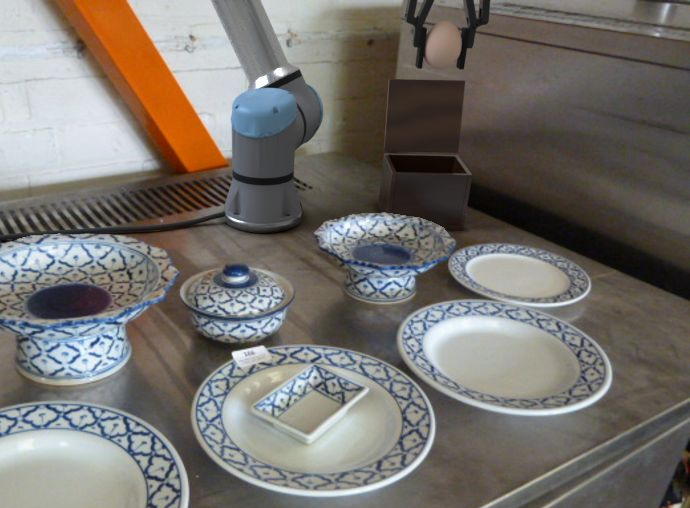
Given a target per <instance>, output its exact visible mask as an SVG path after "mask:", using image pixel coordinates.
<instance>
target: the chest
mask: <svg viewBox="0 0 690 508" xmlns="http://www.w3.org/2000/svg"><path fill="white" fill-rule="evenodd" d="M381 167H382V168H381V176H380V177H381V178H380V186H379V194H378V195H379V196H378V204H377V205H378V209H379V212H380V213H381V212H386V213H393V214H400V215H406V216H414V217H420V218H423V219H426V220H428V221H432V222H434V223H436V224H438V225H440V226H442V227H444V228H445V229H446V230H445V231H463V230H464V225H465V220H466V215H467V210H468V204H469V198H470V192H471V186H472V181H473V174H472V172H471V171H470V170H469V168H468V167H467V165H466V163H464V162H463V160H462V159H461V158H460V157H459V155H458V154H430V153H429V154H425V153H389V152H388V153H387V152H386V153H383V158H382V166H381Z"/></svg>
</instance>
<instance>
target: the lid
mask: <svg viewBox="0 0 690 508" xmlns="http://www.w3.org/2000/svg"><path fill="white" fill-rule="evenodd" d="M387 83H388V86H387V99H386V115H385V127H384V128H385V129H384V143H383V151H384V152H403V153H405V152H410V153H443V154H444V153H447V154H448V153H451V154H453V153H454V154H458V153H459V152H460V151H459V149H460V140H461V129H462V120H463V110H464V101H465V100H464V98H465V89H466V88H465V87H466V80H460V79H458V80H457V79H413V78H389V79H388V82H387Z"/></svg>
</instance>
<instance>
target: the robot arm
mask: <svg viewBox="0 0 690 508" xmlns="http://www.w3.org/2000/svg"><path fill="white" fill-rule="evenodd" d="M210 2H211V4H212V6H213V8H214V11H215V13H216V14H217V17H218V19H219V21H220V24H221V27H222V28H223V30H224V32H225V34H226V36H227V39H228V41H229V44H230V45H231V47H232V49H233V52H234V54H235V56H236V58H237V60H238V63H239V65H240V67H241V69H242V71H243V73H244V75H245V78H246V80H247V83H248V87H247V90H246V91H244V92H241V93H240V94H238V95H237V96H236V97H235V98H234V100H233V102H232V105H231V115H230V124H231V160H232V161H231V164H232V165H231V166H232V167H231V168H232V169H231V171H232V178H231V179H232V180H231V183H230V186H229V190H228V193H227V196H226V199H225V201H224V205H223V208H222V210H223V211H221V212H217V213H212V214H209V215H206V216H202V217H199V218H195V219H190V220H189V219H188V220H184V221H179V222H171V223H164V224H152V225H134V226H133V225H132V226H131V225H129V226H110V227H109V226H108V227H88V228H72V229H71V228H69V229H53V230H43V231H42V230H41V231H28V232H19V233H18V232H17V233H8V234H6V233H5V234H0V241H8V240H19V239H18V238H20V239H23V238H22V237H26V236H30V235H43V234H58V233H63V234H72V235H86V234H85V233H90V234H109V233H110V234H111V233H133V232H150V231H162V230H170V229H178V228H183V227H189V226H194V225H198V224H201V223H205V222H209V221H213V220H216V219H220V218H223V221H224V222H225V224H227V226H230V227H231V228H234V229H236V230H240V231H243V232H249V233H256V234H257V233H258V234H266V233H267V234H269V233H271V234H272V233H278V232H283V231H288V230H291V229H293V228H295V227H297V226H298V225H299V224H300V223H301V221H302V219H303V218H302V217H303V216H302V214H303V206H302V203H301V201H300V199H299V194H298V191H297V188H296V184H295V177H294V176H295V157H296V156H295V155H296V154H295V153H296V150H298V149H299V148H300V147H301V146H303V145H304V144H306V143H308V142H310V141H311V139H313V137H314V136H315V135H316V134H317V132H318V130H319V129H320V128H321V126H322V122H323V119H324V105H323V100H322V97H321V96H320V94H319V93H318V91H317V89H315V88H314V87H313V86H311V85H310V84H308V83H306V80H305V78H304V76H303V74H302V72H301V69H300V67H299V66H296V65H293V64H291V63H290V62H289V61H288V59H287V57H286V54H285V53H284V50H283V48H282V45H281V43H280V41H279V39H278V36H277V34H276V32H275V29H274V27H273V25H272V22H271V21H270V20H271V19H270V18H269V16H268V14H267V11H266V9H265V7H264V5H263V3H262V0H210ZM434 2H435V0H422V3H421V5H420V8H419V10H418V12H417V14H416V10H417V5H418V0H407V1H406V7H405V12H404V17H403V20H404V22H406V23H407V24H410V25H412V26H413V32H412V40H411V41H412V42H411V45H412V47H413V48H416V57H415V64H414V66H415V67H416V68H417V69H419V70H422V69H423V65H424V50H425V42H426V35H427V33H428V28H427V27H426V26H424V24H425V22H426V20H427V17H428V15H429V14H430V11H431V9H432V6H433V4H434ZM462 2H463V8H464V13H465V14H464V15H465V21H466V25H467V26H465V27H464V26H463V27H461V32H460V35H461V38H462V48H461V52H460V55H459V57H458V59H457V60H456V65H455V68H457V69H458V70H465V66H466V65H465V64H466V58H467V52H468V49H472V48H473V47H474V44H475V38H476V33H477V32H476V31H477V29H478V28H479V27H481V26H486V25H487V24H488V23H489V21H490V11H491V0H479V1H478V13H476V12H477V11H476V5H475V0H462ZM415 14H416V16H415ZM477 14H478V16H477Z"/></svg>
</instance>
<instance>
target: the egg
mask: <svg viewBox="0 0 690 508" xmlns="http://www.w3.org/2000/svg"><path fill="white" fill-rule="evenodd" d="M461 48H462V38H461V32H460V30H459V27H457V25H456V24H454V23H453V22H452V21H450V20H440V21H438V22H436V23H435V24H434V25H432V26H431V28H430V29H428V31H427V34H426V42H425V50H424V58H423V60H424V61H425V62H426V63H427V65H428V66H429V67H431V69H435V70H446V69H448V68H450V67H451V66H452V65H454V64H455V63H456V62H457V59H458V57H459V55H460V52H461Z"/></svg>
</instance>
